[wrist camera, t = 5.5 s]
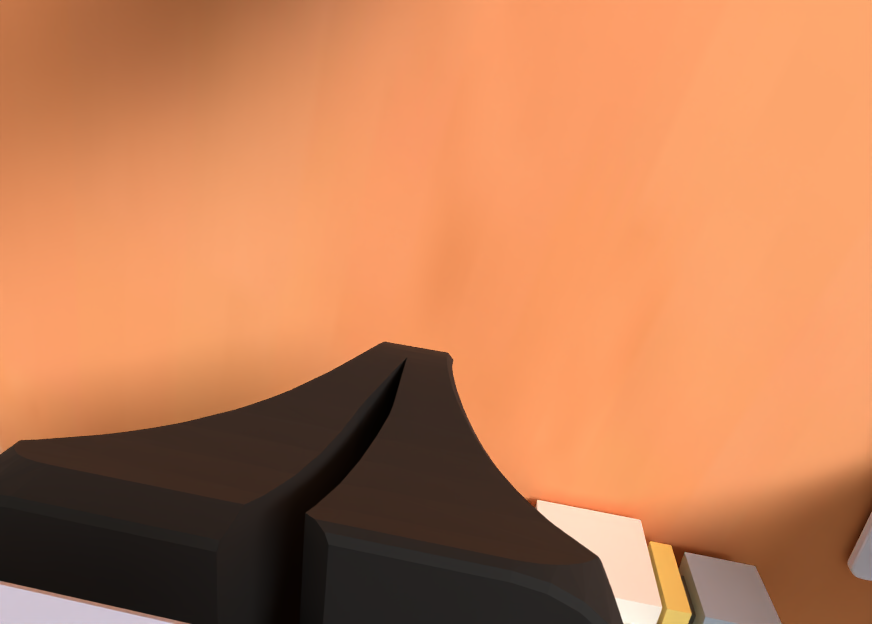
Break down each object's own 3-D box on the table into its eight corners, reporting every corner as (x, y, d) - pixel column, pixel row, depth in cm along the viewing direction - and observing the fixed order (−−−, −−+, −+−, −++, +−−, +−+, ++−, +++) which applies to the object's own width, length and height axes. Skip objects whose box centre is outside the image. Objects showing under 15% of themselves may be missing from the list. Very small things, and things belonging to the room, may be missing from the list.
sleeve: (640, 519, 23) (674, 656, 18) (615, 600, 25) (639, 749, 19) (537, 499, 24) (539, 627, 18) (518, 580, 25) (515, 721, 20)
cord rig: (757, 520, 23) (801, 606, 19) (714, 626, 25) (746, 723, 21) (279, 428, 25) (234, 491, 21) (276, 535, 27) (234, 610, 23)
